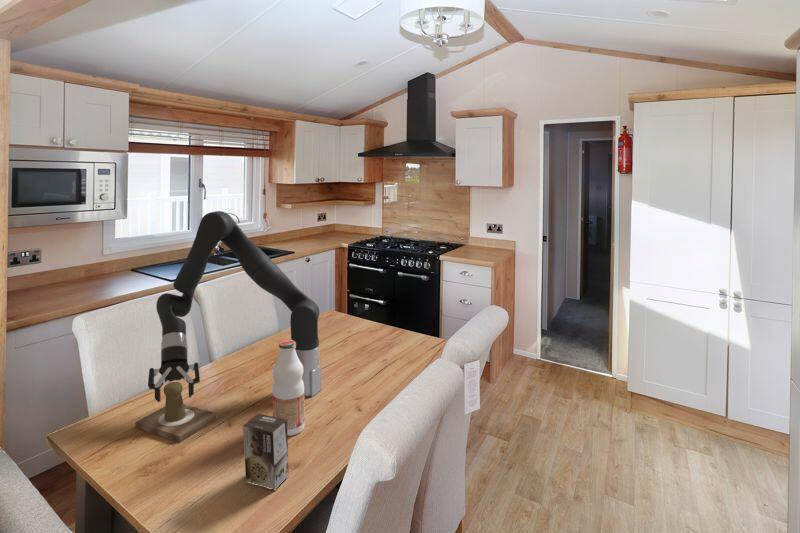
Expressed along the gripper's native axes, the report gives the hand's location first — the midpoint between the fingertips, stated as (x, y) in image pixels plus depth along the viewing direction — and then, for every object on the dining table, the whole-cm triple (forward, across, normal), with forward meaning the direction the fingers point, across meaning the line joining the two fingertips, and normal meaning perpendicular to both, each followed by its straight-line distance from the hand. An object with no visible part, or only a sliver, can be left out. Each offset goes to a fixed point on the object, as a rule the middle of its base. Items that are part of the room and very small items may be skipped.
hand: (174, 398), depth 136 cm
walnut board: (+5, 0, +7) cm, 9 cm away
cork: (+4, 0, +6) cm, 7 cm away
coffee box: (+32, +23, -18) cm, 43 cm away
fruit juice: (+16, +32, -3) cm, 36 cm away
